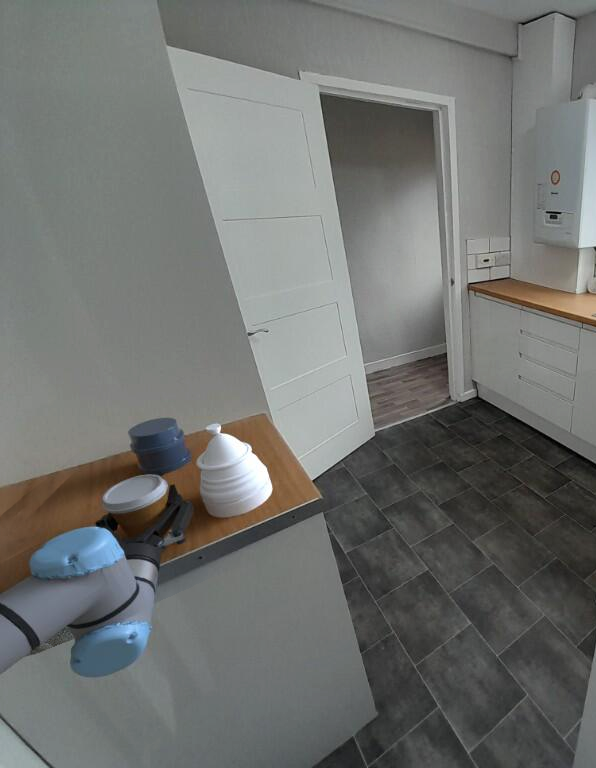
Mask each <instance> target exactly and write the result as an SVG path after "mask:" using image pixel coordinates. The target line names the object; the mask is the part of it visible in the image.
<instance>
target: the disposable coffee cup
mask: <svg viewBox="0 0 596 768" xmlns="http://www.w3.org/2000/svg"><path fill="white" fill-rule="evenodd" d="M168 487H169V483H168V480H166V479H164V478H162V476H159V475H151V474H148V475H143V474H141V475H137V476H134V477H130V478H127V479H124V480H122V481H120V482H118V483H116V484H114V485H113V486H111V487H110V488H108V489H107V490H106V492H104V494H103V495H102V502H101V507H102V509H103V510H104V511H106V512H108V513H110V514H111V515H112V516H113V518H114V519H115V520H116V522H117V523H118V524H119V525H118V526H119V527H120V528H121V530H122V531H123V533H125V534H126V536H127V538H129V537H134V536H137V535H139V534H142V533H144V531H145V530H146V529H147V528H148V527H149V526H153V525H154V523H155V522H156V521H157V520H158V519H159V518H160V517H161V516H162V514H163V513H164V512H165V511H166V510H167V509H168V505H167V500H168V494H169V493H168ZM169 530H172V526H171V527H170V529H169ZM169 530H168V531H167V532H166V534H165V535H164V536H163V539H164V538H166V537H167V536H168V534H169Z"/></svg>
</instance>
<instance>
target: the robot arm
mask: <svg viewBox="0 0 596 768" xmlns="http://www.w3.org/2000/svg"><path fill="white" fill-rule="evenodd" d="M168 489H169V490H168V493H167V494H168V500H167V505H168V509H167V510H166V511H165V512H164V513H163V514H162V516H161V517H160V518H159V519H158V520H157V521H156V522H155V523H154V525H153V526H149V527H148V528H147V529H146V530H145V531H144V533H142V534H139V535H137V536H134V537H126V538H121V537H120V536H119V535H117V534H116V531H118V529H119V528H118V527H119V526H120V525H119V524H118V523H117V522H116V520H115V519H114V518H113V516H112V515H111V514H110V513H109V512H108V513H107V514H104V515H103V516H101V518H100V519H98V520H96V521H95V522H94V524H95V526H86V527H80V528H76V529H73V530H70V531H67V532H64V533H61V534H59V535H57V536H55V537H53V538H51V539H49V540H48V541H46V542H44V543H43V544H42V545H41V547H40V548H39V549H38V550H35V552H33V553H32V554H31V557H30V559H29V562H28V564H29V568H30V570H29V571H30V573H31V575H29V576H27V577H25V578H24V579H22V580H21V581H19V582H18V583H16V584H15V585H13V586H11V587H10V588H8V589H6V590H4V591H3V592H2V593H0V676H1V675H2V674H3V673H5V672H6V671H8V670H9V669H10V668H12V667H13V666H14V665H15V664H17V663H18V662H20V661H21V660H23V658H25V657H26V656H28V655H29V654H30V653H32V652H33V651H35V650H36V649H37V648H39V647H40V646H41V645H43V644H45V642H47V641H49V640H50V639H51V638H53V636H55V635H56V634H58V633H59V632H61V631H62V630H63V629H65V628H66V627H67V628H68V629H69V631H70V632H71V634H72V636H73V638H74V643H73V645H72V647H71V648H70V659H69V666H70V669H71V671H72V672H73V673H74V674H75V675H78V676H81V677H84V678H102V677H107V676H111V675H114V674H115V673H117V672H120V671H121V670H124V669H126V668H128V667H129V666H132V665H133V664H134V663H135V662H136V661H137V660H138V659H139V658H140V657H141V656H142V655H143V653H144V651H145V650H146V647H147V644H148V639H149V636H150V633H151V632H152V619H153V611H154V605H155V598H156V592H157V585H158V578H159V572H160V568H161V561H162V553H163V552H164V550H165V549H166V548H167V546H169V545H171V544H174V543H176V544H177V545H181V544H182V545H183V544H184V543H185V542H186V537H185V535H186V534H185V533H186V531H187V529H188V526H189V524H190V521H191V519H192V516H193V514H194V512H195V511H194V510H195V509H194V507H193V504H192V502H191V500H190V499H187V500H185V501H184V499H183V497H182V496H183V495H181V493H179V492H178V489H177V487H176V485H175V484H174V483H173V484H170V485H169V488H168ZM171 526H172V530H169V529H170V527H171ZM168 530H169V534H168V536H167V537H166V538H164V539H163V536H164V535H165V534H166V532H167V531H168Z"/></svg>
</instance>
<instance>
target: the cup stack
mask: <svg viewBox="0 0 596 768" xmlns="http://www.w3.org/2000/svg"><path fill="white" fill-rule="evenodd" d="M127 435H128V437H129V439H130V444H129V447H130V450H131V452H132V453H133V454H135V456H136V459H137V461H138V464H137V467H138V470H139V471H140V473H141V475H148V474H151V475H159V476H160V477H162V476H164V475H166V474H169V473H172V472H175V471H177V470H179V469H181V468H183V467H184V466H186V465H187V464H188V463H191V462H192V461H193V454H192V451H191V449H190V448H188V446H187V443H186V441H185V438H186V434H185V432H184V430H183V429H181V428H180V426H179V424H178V420H177V419H176V418H173V417H158V418H153V419H149V420H145V421H143V422H140V423H138V424H136V425H134V426H132V427H131V428H130V429H128V431H127Z"/></svg>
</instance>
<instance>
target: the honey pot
mask: <svg viewBox="0 0 596 768" xmlns="http://www.w3.org/2000/svg"><path fill="white" fill-rule="evenodd" d="M221 429H222V427H221V424H220V423H212V424H209V425H207V426H206V427H205V430H206V432H207V433H208V434H209V435H211V436H213V437H212V438H211V439H210V440H209V442H208V444H207V446H206V448H205V451H203V452H202V453H201V454H200V455H199V456H198V457H197V458H196V466H197V468H198V469H200V470H201V471H200V474H199V475H200V476H199V478H200V481H199V482H200V483H199V489H198V490H199V491H198V492H199V494H200V497H201V499H202V502H203V504H204V507H205V509H206V511H207V512H208V514H209V515H211V516H212V517H216V518H231V517H232V518H233V517H237V516H240V515H243V514H247V513H248V512H251V511H253V510H255V509H256V508H258V507H260V506H261V505H262V504H264V503H265V502H266V501H267V500H268V499H269V498H270V496H271V495H272V492H273V484H272V481H271V477H270V475H269V472H268V468H267V467H266V465H265V464H264V463H263V462H262V461H261V460H260V459H259V457H258V456H257V455H256V454H254V453H253V452H252V451H253V450H252V446H251V444H249V443H247V442H244V441H241V440H239V439H238V438H236V437H235V436H233V435H231V434H228V433H221Z"/></svg>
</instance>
